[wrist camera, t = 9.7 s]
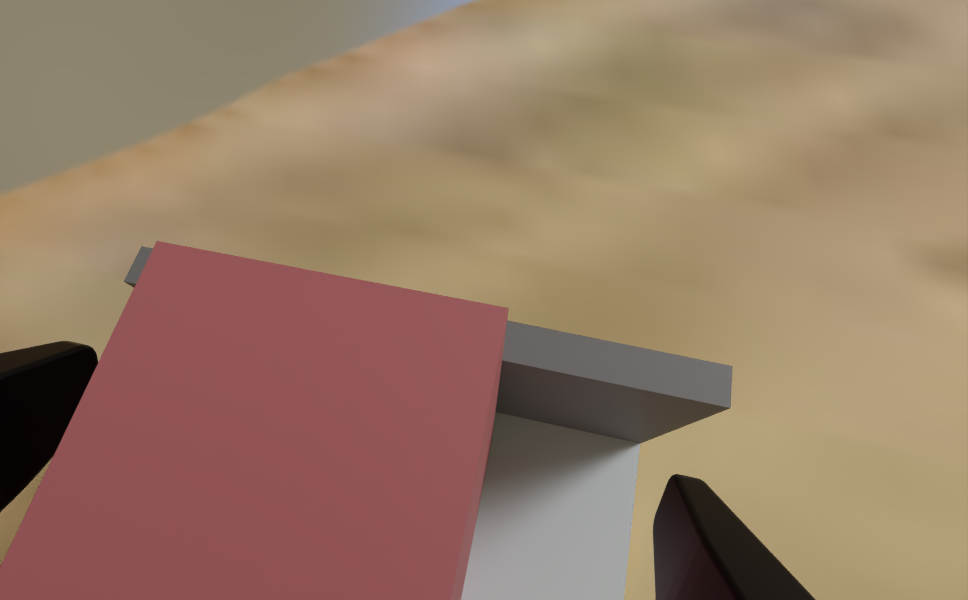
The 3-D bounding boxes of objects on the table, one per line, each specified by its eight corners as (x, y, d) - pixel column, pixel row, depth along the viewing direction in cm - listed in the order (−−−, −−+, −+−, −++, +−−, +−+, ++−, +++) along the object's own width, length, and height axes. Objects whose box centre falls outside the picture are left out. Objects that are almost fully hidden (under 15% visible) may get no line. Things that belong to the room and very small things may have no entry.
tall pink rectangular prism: (453, 636, 14) (360, 1047, 3) (319, 604, 14) (-155, 891, 4) (491, 439, 15) (509, 308, 5) (372, 414, 16) (156, 241, 5)
